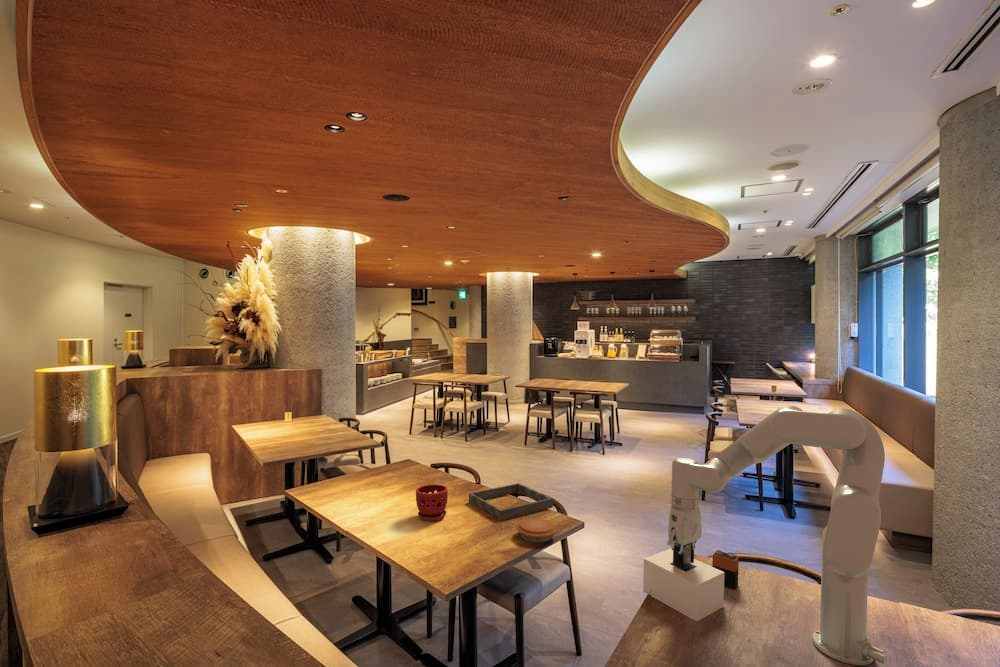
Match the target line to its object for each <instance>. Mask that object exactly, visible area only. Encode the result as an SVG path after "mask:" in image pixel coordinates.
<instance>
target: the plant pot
mask: <svg viewBox="0 0 1000 667" xmlns="http://www.w3.org/2000/svg"><path fill="white" fill-rule="evenodd" d="M448 490H449V489H448V487H447V486H446V485H443V484H436V483H435V484H425V485H422V486H421V485H420V486H418V487H417V488H416V489H415V501H416V507H417V509H418V513H417V515H418V518H420V519H421V520H422V521H427V522H428V521H429V522H436V521H440V520H443V519H444V518H445V517H446V515H447V511H446V507H447V504H448V496H449V495H448V492H449V491H448Z"/></svg>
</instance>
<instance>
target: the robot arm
mask: <svg viewBox="0 0 1000 667" xmlns="http://www.w3.org/2000/svg"><path fill="white" fill-rule="evenodd" d="M789 445H796V446H804V447H813V448H823V449H831V450H841V451H842V454H841V460H840V464H839V471H838V476H837V478H836V479H837V480H836V483H835V486H834V489H833V491H832V492H833V493H832V495H831V499H830V500H831V503H830V510H829V511H830V512H829V515H828V522H827V525H826V526H825V527H824V528H823V531H822V535H821V572H820V573H821V575H820V576H821V579H820V580H821V582H820V584H821V585H820V612H819V629H818V630H814V632H812V634H811V635H812V636H811V637H812V643H813V644H814V646H815V647H816V648H817V649H818V650H819V651H820V652H822V653H823V654H824V655H826V656H828V657H830V658H832V659H834V660H836V661H839V662H840V663H841V662H842V663H845V664H848V665H854V666H868V665H869V664H872V663H873V662H874V660H875V661H876V662H878V663H880V664H883V665H884V666H885V665H886V664H887V659H888V658H887V655H885V650H883V649H881V648H879V647H876V646H873V644H872V643H871V642H872V640H871V638H872V637H870V636H867V622H868V620H867V618H868V617H867V616H868V614H867V613H868V594H869V593H868V592H869V569H870V568H871V565H872V562H873V558H874V555H875V550H876V546H877V542H878V538H879V534H880V529H881V523H882V511H881V505H880V501H879V497H880V492H881V491H880V490H881V485H882V482H883V481H882V480H883V475H884V468H885V461H886V458H885V457H886V455H885V446H884V442H883V440H882V437H881V435H880V433H879V432H878V430H877V429H876V428H875V426H874V425H873V424H872V423H871V422H870V421H869V420H868V419H867V418H866V417H864V415H862V414H860V413H859V412H857V411H855V410H853V409H850V408H845V407H843V408H842V407H841V408H836V409H835V408H834V409H833V410H831V411H829V412H828V413H827V412H817V411H815V412H814V411H804V410H803V409H801V407H798V406H796V405H790V404H789V405H783V406H780V407H778V408H777V409H776V410H775V411H772V413H770V414H769V415H768V416H766V417H765V418H764V419H762V420H761V421H759V422H758V423H757V424H756V425H754V426H753V427H751V428H750V429H748V430H747V431H745V432H744V433H742V434H741V435H740V436H739V437H738V438H737V439H736V440H734V442H731V444H729V445H728V446H727V447H725V448H724V449H722V450H721V451H720V452H718V453H717V454H715V455H714V456H713V457H711V458H710V459H709V460H707V462H705V463H703V464H699V462H698V461H697V460H695V459H692V458H688V457H676V458H675V459H673V461H672V463H671V494H670V496H671V497H670V498H671V499H670V500H671V501H670V504H671V506H670V510H669V511H670V512H669V517H668V532H667V533H668V541H667V544H666V545H667V546H668V547H669V548H671V549H672V551H673V564H675V565H677V566H679V567H681V568H682V567H684V554H683V553H682V552H683V545H686V544H689V543H691V563H694V559H695V549H696V543H697V542H698V540H700V539H701V538H702V516H701V515H702V514H701V508H700V505H699V502H700V500H699V496H700V490H701V491H704V492H706V493H713V494H714V493H720V492H721V491H723V489H724V488H725V486H726V485H727V483H728V482H729V481H730V480H731V479H733V478H734V477H735V476H736V475H738V474H740V473H742V472H743V471H744V470H746V469H747V468H749V467H751V466H753V465H754V464H761V463H764V462H766V461H767V460H769V459H770V458H772V457H773V456H774V455H776V454H778V453H779V452H780V451H781V450H784V449H785V448H786V447H788V446H789ZM677 544H679V547H678V546H677Z"/></svg>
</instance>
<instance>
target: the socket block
mask: <svg viewBox="0 0 1000 667" xmlns="http://www.w3.org/2000/svg"><path fill="white" fill-rule="evenodd" d="M642 578H643V579H642V580H643V581H642V582H643V583H642V584H643V586H642V587H643V588H642V591H643V593H645V594H646V595H648V594H649V593H650V591H651V590H652V591H651V593H650V594H649V595H648V596H650V595H651V596H650V597H652V598H654V599H656V600H657V601H659V602H661V603H663V604H665V605H666V606H668V607H670V608H671V609H674V610H676V611H677V612H678V613H681V615H682V614H683V615H684V616H686V617H687V618H689V619H691V620H693V621H695V622H698V621H700V620H702V619H704V618H705V617H707V616H710V615H712V614H713V613H716V612H717V611H719V610H720V609H722V608H724V605H725V602H724V601H725V600H724V599H725V587H724V572H723V571H721V570H718V569H716V568H714V567H712V565H709V564H707V563H705V562H702V561H701V560H698V559H695V558H694V563H691V568H690V570H689V571H687V572H685V571H683V570H681V569H679V568H677V567H676V565H675V564H673V551H672V548H671V547H669V548H668V549H666V550H664V551H660V552H658V553H655V554H652V555H649V556H647V557H644V558H643V577H642Z"/></svg>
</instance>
